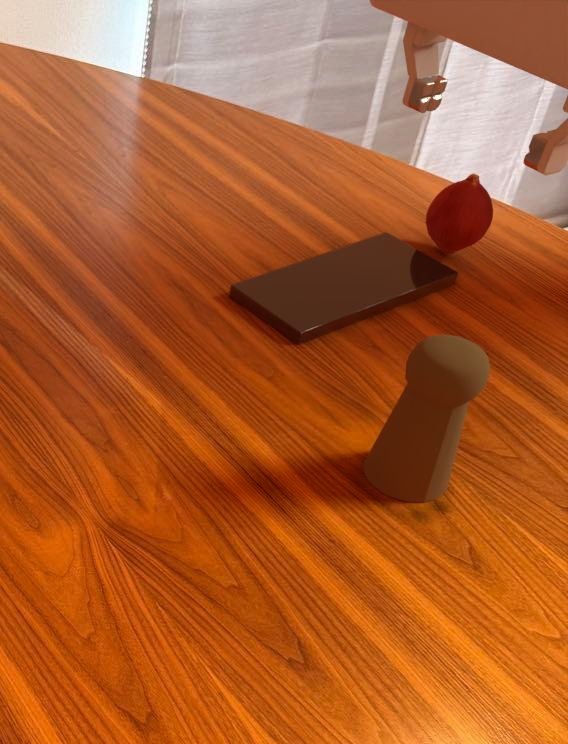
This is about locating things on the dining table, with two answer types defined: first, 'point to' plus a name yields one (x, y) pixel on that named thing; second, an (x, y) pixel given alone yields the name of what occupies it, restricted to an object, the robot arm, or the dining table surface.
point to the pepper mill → (427, 419)
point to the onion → (459, 215)
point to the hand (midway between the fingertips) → (477, 137)
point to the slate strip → (342, 286)
